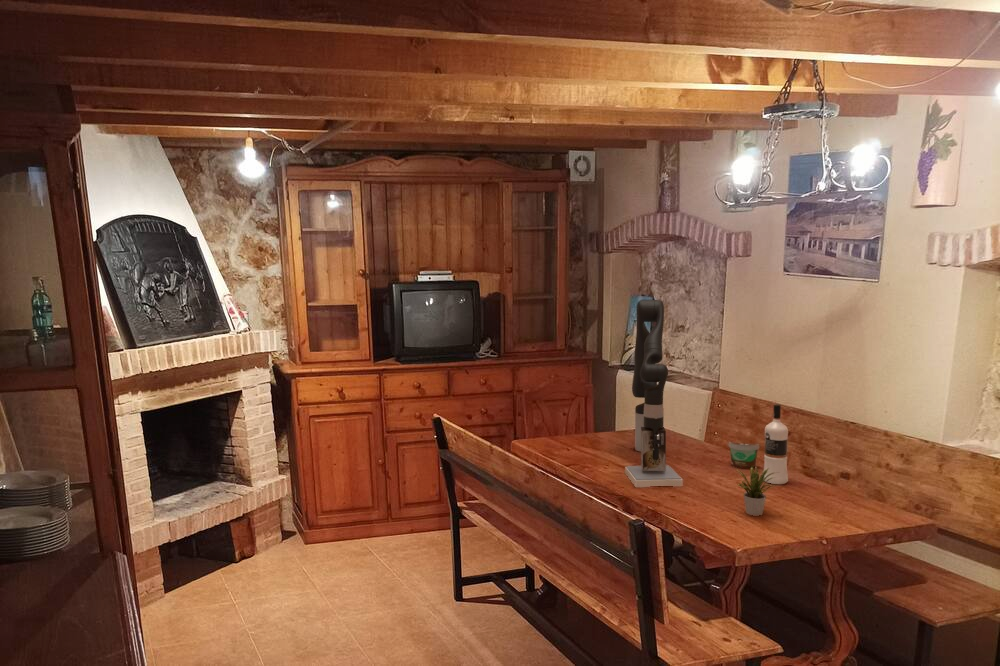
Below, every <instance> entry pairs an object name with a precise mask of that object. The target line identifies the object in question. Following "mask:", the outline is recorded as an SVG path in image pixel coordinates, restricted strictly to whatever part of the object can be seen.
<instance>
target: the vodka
mask: <svg viewBox="0 0 1000 666" xmlns="http://www.w3.org/2000/svg"><path fill="white" fill-rule="evenodd" d="M781 410H782V407H781V404H773V413H772V414H773V415H772V418H773V419H772V421H771V422H769V423H768V424H766V426H765V427H764V454H763V457H764V458H763V459H764V465H763V471H762V473H763V472H764V471H765V470H766V469H768V468H769V469H768V470H767V473H766V475H765V476H764V477H766V476H767V475H769V474H770V473H774V474H772V475H770V476H768V478H766V479H765V480H764V479H763V480H764V481H763V482H764V483H765V482H766V481H767V480H768V479H770V478H772V479H770V480H768V481H767V482H766V484H767V483H768V484H770V483H771V485H785V484H787V483H788V482H789V475H788V468H787V466H788V465H787V464H788V459H789V457H788V439H789V429H788V426H787V425H785V424H784V423H783V422H782V421H781V412H782V411H781ZM775 472H777V473H775Z"/></svg>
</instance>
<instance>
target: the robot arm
mask: <svg viewBox="0 0 1000 666" xmlns="http://www.w3.org/2000/svg"><path fill="white" fill-rule="evenodd" d="M635 310H636V312H635V315H636V322H635V323H636V333H635V334H636V335H635V336H636V337H635V346H634V366H633V367H634V369H633V370H634V371H633V376H632V377H633V378H632V384H631V392H632V393H631V394H632V395H633V397H635V398H639V399H644V402H643V403H639V404H637V405H636V406H635V408H634V409H635V411H634V412H635V413H634V417H635V419H634V421H635V422H634V423H635V424H634V425H635V427H634V428H635V429H634V430H635V431H634V450H635V451H636V452H640V453H641V427H646V428H649V429H650V428H651V430H652V431H653V438H654V442H653V441H652V440H651V444H652V447H653V459H654V460H658V459H659V450H661V435H659V430H658V429H660V428H663V427H664V415H665V411H664V409H665V408H664V392H665V391H664V390H665V387H666V382H667V380H668V376H669V369H668V367H667V365H666V364H663V363H661V362H662V360H663V334H664V333H663V331H664V321H665V305H664V302H663V300H662V299H661V300H660V299H640V300H638V301H637V305H636V309H635ZM647 322H648V323H655V324H654V327H653V328H652V330H651V331H649V330H648V328H647V326H646V323H647ZM656 444H657V445H658V447H656Z"/></svg>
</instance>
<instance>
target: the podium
mask: <svg viewBox="0 0 1000 666" xmlns="http://www.w3.org/2000/svg"><path fill="white" fill-rule="evenodd" d="M624 474H625V475H626V476H628V477H627V478H628V479H629V480H631V481H630V482H631V483H632V485H633V484H634V485H633V486H634V487H635V488H651V487H650V486H673V487H684V485H683V484H684V479H683V478H682V477H681V476H680V475H679V474H678V473H677V472H676V470H674V469H673V468H672V467H671V466H670V465H668V464H666V471H642V468H641V465H626V466H625V467H624Z"/></svg>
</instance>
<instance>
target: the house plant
mask: <svg viewBox="0 0 1000 666" xmlns="http://www.w3.org/2000/svg"><path fill="white" fill-rule="evenodd" d="M754 469H755V470H754ZM768 469H769V468H768ZM768 469H766V470H765V471H764V470H763V471H764V472H763V471H762V474H761V475H760V473H759V470H758V467H757V466H756V465H755V468H752V466H751V469H750V477H749V478H750V483H749V481H748V479H747V477H746V476H745V474H744V473H743V471H742V472H741V471H740V470H739V469H738V468H735V470H736V471H737V472H738V473H739V474H740V475H741V477H743V479H744V480H743V479H740V481H741V482H742V484H741V483H737V485H738V486H739V487H741V488H740V489H742V488H743V490H745V492H744V493H743V498H744V499H743V501H744V506H745V507H744V509H745V513H746V514H747V515H750V516H752V515H753V516H754V517H759V515H761V516H762V515H763V512H764V507H765V504H766V497H767V496H766V495H765V492H766V491H767V490H768V489H769V488H771V487H772V488H775V487H774V486H775V484H771V485H770V484H767V481H768V480H770V479H772V478H770V479H768V480H767V481H766V482H765V481H764V480H765V479H766V478H768V476H770V475H772V474H774V473H770V474H769V475H767V476H766V477H764V476H765V475H766V473H767V470H768ZM775 473H777V472H775ZM763 479H764V480H763ZM766 487H767V488H766ZM764 488H765V489H764ZM753 516H752V517H753Z"/></svg>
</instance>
